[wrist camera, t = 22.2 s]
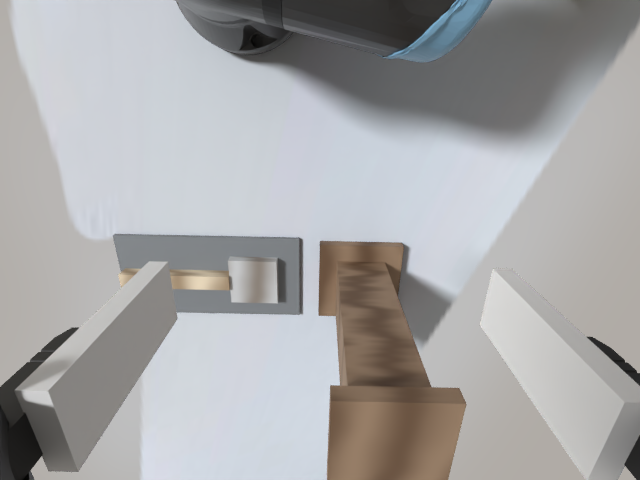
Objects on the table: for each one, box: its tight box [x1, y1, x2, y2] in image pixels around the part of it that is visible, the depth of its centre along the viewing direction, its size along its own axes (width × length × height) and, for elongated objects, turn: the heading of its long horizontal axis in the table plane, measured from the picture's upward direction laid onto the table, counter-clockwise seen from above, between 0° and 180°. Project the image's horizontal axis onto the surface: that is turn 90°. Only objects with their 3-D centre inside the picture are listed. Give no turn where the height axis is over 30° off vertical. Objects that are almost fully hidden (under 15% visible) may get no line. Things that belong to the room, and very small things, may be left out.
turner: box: [119, 256, 279, 303], centre depth 52 cm, size 23×7×2 cm, turn 89°
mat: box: [113, 234, 300, 315], centre depth 53 cm, size 27×13×1 cm, turn 89°
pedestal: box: [319, 241, 466, 480], centre depth 40 cm, size 12×12×28 cm
